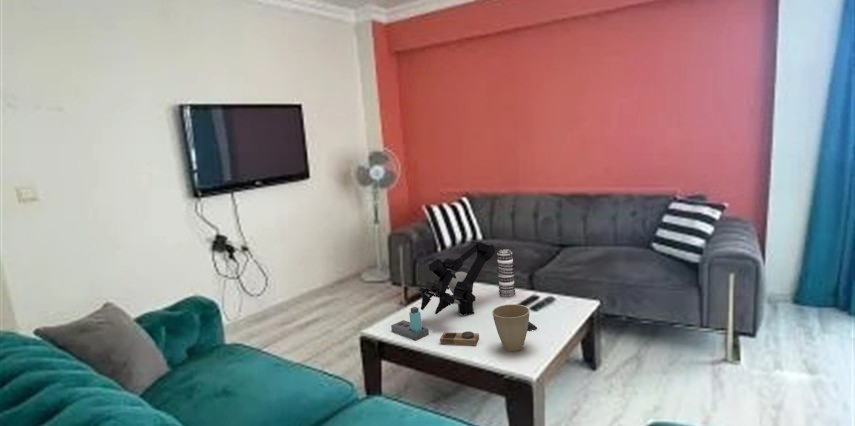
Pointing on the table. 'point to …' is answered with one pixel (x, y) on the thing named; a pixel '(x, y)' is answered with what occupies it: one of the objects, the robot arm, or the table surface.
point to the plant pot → (511, 325)
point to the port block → (408, 330)
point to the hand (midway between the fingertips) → (428, 311)
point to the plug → (415, 320)
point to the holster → (460, 338)
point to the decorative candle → (506, 274)
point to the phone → (531, 327)
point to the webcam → (459, 277)
